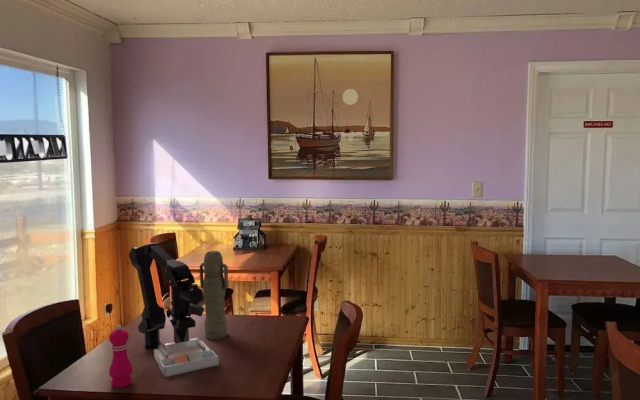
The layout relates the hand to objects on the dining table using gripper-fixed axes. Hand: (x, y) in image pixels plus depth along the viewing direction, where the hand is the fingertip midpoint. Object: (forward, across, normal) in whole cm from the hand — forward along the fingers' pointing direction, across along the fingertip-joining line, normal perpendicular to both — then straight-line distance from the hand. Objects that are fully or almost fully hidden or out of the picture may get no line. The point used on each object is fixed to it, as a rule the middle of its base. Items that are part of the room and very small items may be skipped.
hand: (181, 340), depth 196 cm
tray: (+7, -10, 0) cm, 12 cm away
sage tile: (+5, -8, -2) cm, 10 cm away
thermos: (+7, +16, -18) cm, 25 cm away
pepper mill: (+7, -12, +23) cm, 27 cm away
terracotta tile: (+5, -8, +2) cm, 10 cm away
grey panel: (+3, 0, 0) cm, 3 cm away
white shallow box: (+7, 0, 0) cm, 7 cm away
